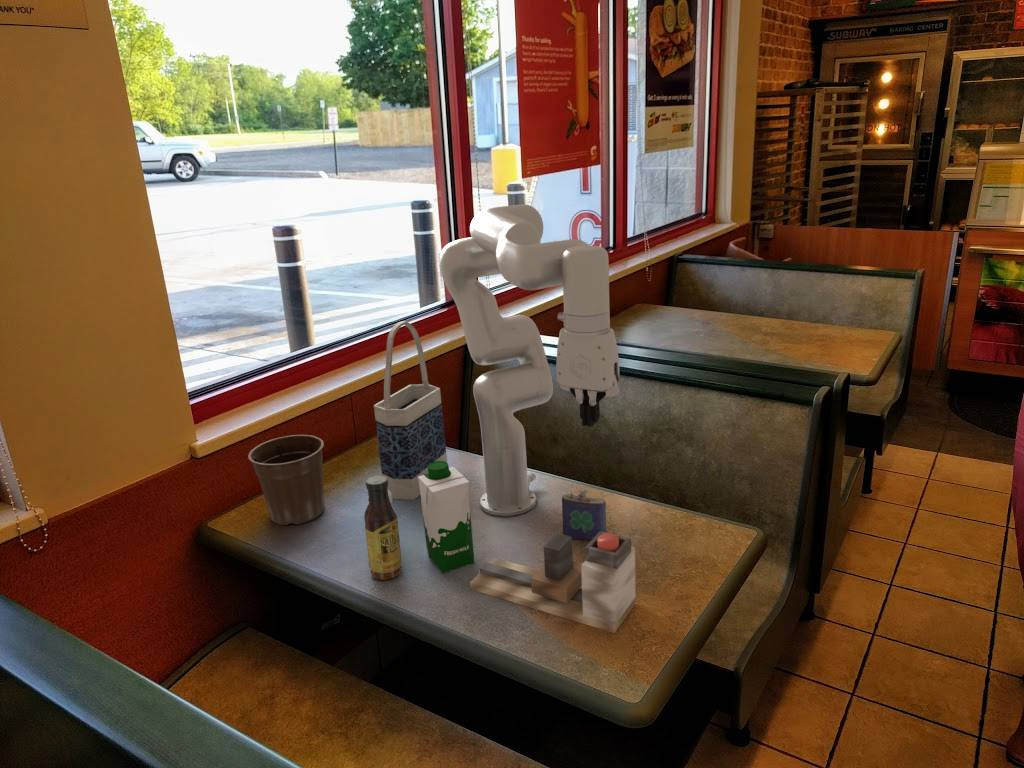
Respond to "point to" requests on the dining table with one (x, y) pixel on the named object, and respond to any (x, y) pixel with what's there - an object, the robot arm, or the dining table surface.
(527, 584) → the rail
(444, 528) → the milk carton
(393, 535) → the sauce bottle
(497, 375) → the robot arm
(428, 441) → the bag
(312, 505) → the plant pot
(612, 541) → the red dome button
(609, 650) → the dining table surface
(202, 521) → the dining table surface
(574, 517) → the flask
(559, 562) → the carriage
